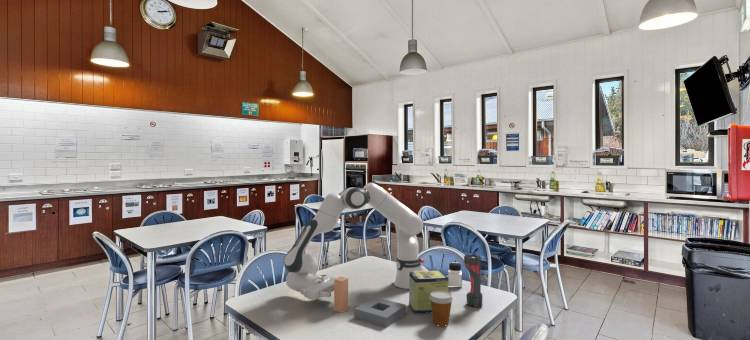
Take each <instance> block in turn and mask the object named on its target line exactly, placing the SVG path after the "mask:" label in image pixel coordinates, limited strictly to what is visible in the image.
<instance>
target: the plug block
mask: <svg viewBox="0 0 750 340" xmlns="http://www.w3.org/2000/svg"><path fill="white" fill-rule="evenodd" d="M335 278H336V279H334V291H333V297H334V299H333V311H334V312H339V313H341V314H342V313H344V312H346V311H348V310H349V278H347V277H344V276H338V277H335Z"/></svg>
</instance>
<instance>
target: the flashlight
mask: <svg viewBox="0 0 750 340" xmlns="http://www.w3.org/2000/svg"><path fill="white" fill-rule="evenodd" d="M481 257H482V256H481V255H480V254H478V255H477V254H476V253H472V254H469V253H466V254H465V255H464V256H463V263H464V266H465V268H466V269H467V271H468V272H469V276H470V277H469V278H470V291H469V292H468V293H466V304H467V303H468V304H469V305H470V306H472V305H473V306H476V307H478V306H482V307H483V293H482V292H481V288H482V286H481V283H482V282H481V269H482V268H481V264H482V258H481ZM468 304H467V305H468ZM469 305H468V306H469ZM473 306H472V307H473Z"/></svg>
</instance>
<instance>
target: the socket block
mask: <svg viewBox="0 0 750 340" xmlns="http://www.w3.org/2000/svg"><path fill="white" fill-rule="evenodd" d="M353 313H354V314H353V315H354V319H357V320H360V321H364V322H365V323H371V324H373V325H377V326H380V327H383V328H385V329H386V328H389V327H390V326H392V325H393V324H394V323H395V322H397V321H398V320H400V319H401V318H402V317H404V316H405V315H406V314H407V304H404V303H401V302H397V301H393V300H389V299H386V298H382V297H381V298H380V297H377V296H375V297H373V298H371V299H369V300H367V301H366V302H363V303H362V304H360V305H358V306H356V307H355V308H354V311H353ZM403 315H404V316H403ZM399 318H400V319H399Z"/></svg>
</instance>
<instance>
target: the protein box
mask: <svg viewBox="0 0 750 340" xmlns="http://www.w3.org/2000/svg"><path fill="white" fill-rule="evenodd" d="M448 279H449V278H448V275H446V274H445V273H444V272H443V271H442V270H429V271H420V272H410V275H409V289H408V290H409V291H408V306H409V305H410V306H409V307H410V309H411V311H412V312H413V314H414V313H421V314H427V313H426V312H432V309H431V300H430V298H429V296H430V294H431V292H434V291H446V292H449V287H448Z"/></svg>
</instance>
